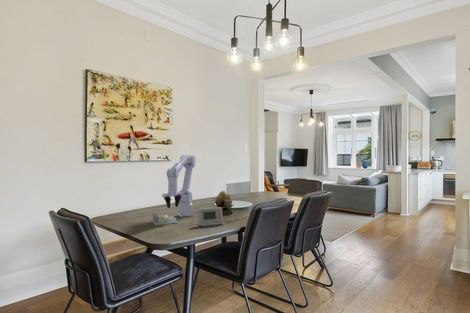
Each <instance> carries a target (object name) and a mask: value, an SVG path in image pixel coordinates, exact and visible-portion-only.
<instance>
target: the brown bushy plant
mask: <svg viewBox="0 0 470 313" xmlns="http://www.w3.org/2000/svg"><path fill="white" fill-rule="evenodd" d="M214 202H215V203H214V204H215V207H221V208H222V216H223V215H231V214H233V213H234V211H232V209H231V208H232V207H233V206H234V204H233V200H232V198H231V194H230V193H226V191H225V190H221V191H220V192H219V193H218V194H217V196H216V197H215V199H214Z"/></svg>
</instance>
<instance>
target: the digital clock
mask: <svg viewBox="0 0 470 313" xmlns="http://www.w3.org/2000/svg"><path fill="white" fill-rule="evenodd" d="M197 218H198V226H199V227H213V226H214V227H215V226H219V225H223V224H224V219H223V214H222V208H221V207H217V206H215V207H204V208H197Z"/></svg>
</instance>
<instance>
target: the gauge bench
mask: <svg viewBox="0 0 470 313" xmlns="http://www.w3.org/2000/svg"><path fill="white" fill-rule="evenodd" d="M159 218H162V216H160V217H159V215H158V214H157V213H153V214H152V223H153V224H154V225H155V226H160V225H161V226H162V225H171V224H178V223H179V222H178V220H177V217H175V216H173V215H172V216H168V219H162V220H159Z"/></svg>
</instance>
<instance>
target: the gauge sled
mask: <svg viewBox="0 0 470 313" xmlns="http://www.w3.org/2000/svg"><path fill="white" fill-rule="evenodd" d="M161 217H162V218H159V220H162V219H168V217H169V216H168V215H167V214H162V215H161Z"/></svg>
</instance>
